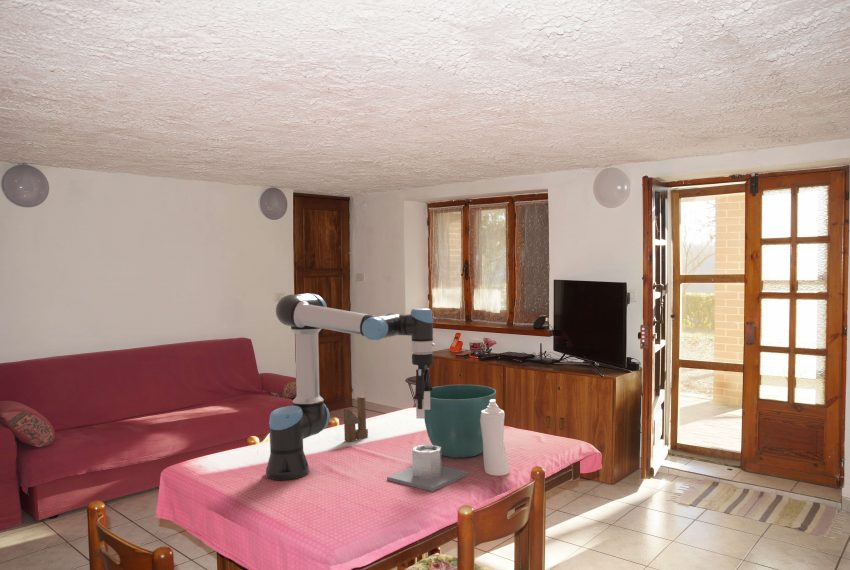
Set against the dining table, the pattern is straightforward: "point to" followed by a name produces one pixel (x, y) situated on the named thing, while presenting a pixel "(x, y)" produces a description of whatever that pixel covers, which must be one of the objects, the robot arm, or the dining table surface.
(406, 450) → the dining table surface
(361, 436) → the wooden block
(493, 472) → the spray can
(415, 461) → the collar
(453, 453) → the flower pot
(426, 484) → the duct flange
